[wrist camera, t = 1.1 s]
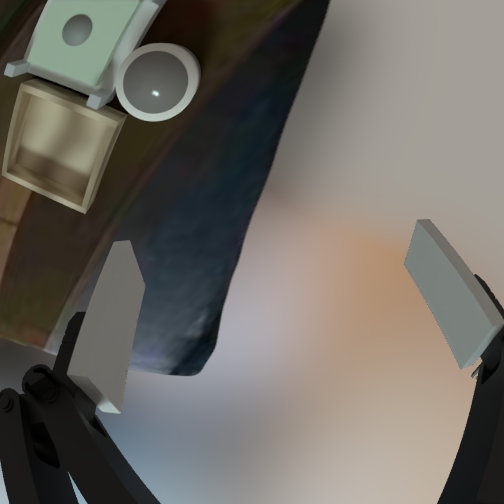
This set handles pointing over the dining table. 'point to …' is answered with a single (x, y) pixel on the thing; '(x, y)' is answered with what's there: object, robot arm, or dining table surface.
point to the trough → (59, 143)
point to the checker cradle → (107, 87)
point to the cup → (158, 81)
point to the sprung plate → (82, 36)
